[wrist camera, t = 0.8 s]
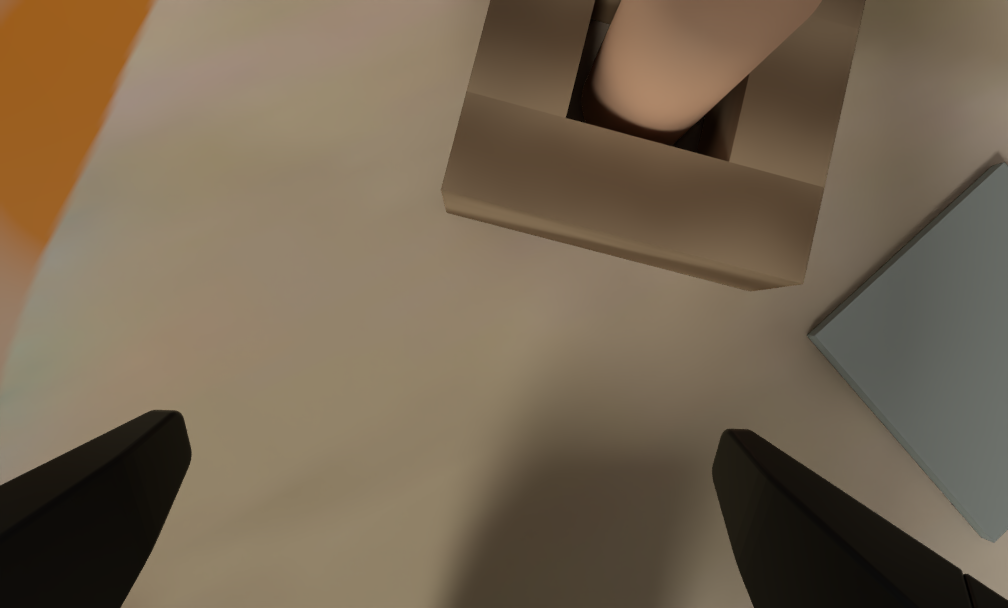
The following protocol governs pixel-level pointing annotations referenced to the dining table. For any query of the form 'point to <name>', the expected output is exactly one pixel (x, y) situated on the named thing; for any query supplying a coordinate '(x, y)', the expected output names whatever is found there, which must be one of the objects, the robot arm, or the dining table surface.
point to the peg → (680, 60)
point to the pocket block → (652, 150)
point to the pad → (940, 350)
